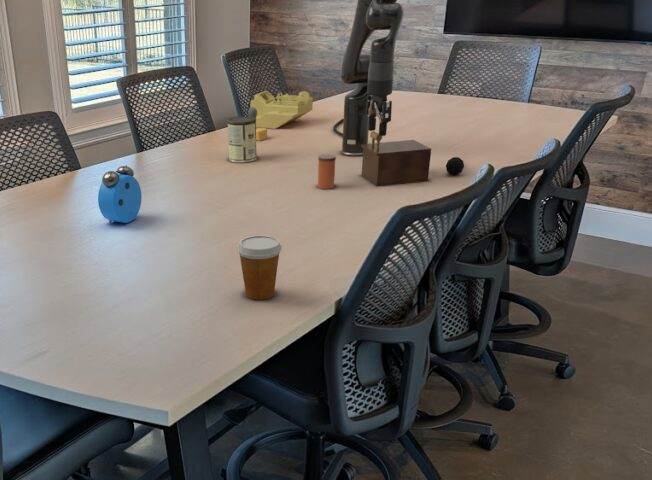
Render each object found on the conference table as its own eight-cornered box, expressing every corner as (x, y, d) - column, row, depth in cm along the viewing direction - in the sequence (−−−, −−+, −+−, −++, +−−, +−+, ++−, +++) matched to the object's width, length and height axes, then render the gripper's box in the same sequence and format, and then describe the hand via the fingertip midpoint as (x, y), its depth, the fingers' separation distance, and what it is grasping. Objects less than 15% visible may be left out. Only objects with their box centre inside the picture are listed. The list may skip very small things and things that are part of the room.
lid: (376, 156, 223) (377, 137, 220) (360, 146, 234) (361, 129, 231) (431, 151, 226) (433, 133, 223) (413, 142, 237) (414, 124, 234)
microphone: (451, 170, 251) (447, 178, 234) (448, 153, 249) (443, 160, 232) (468, 166, 249) (464, 173, 232) (464, 149, 247) (461, 155, 230)
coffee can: (235, 155, 269) (234, 115, 262) (260, 156, 265) (260, 116, 258) (224, 161, 261) (222, 121, 254) (250, 163, 257) (249, 122, 250)
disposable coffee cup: (253, 282, 165) (252, 232, 159) (289, 290, 160) (289, 239, 154) (230, 297, 159) (228, 245, 152) (266, 306, 154) (266, 253, 148)
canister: (315, 185, 231) (316, 155, 226) (331, 183, 232) (332, 153, 227) (320, 189, 226) (321, 159, 221) (336, 188, 227) (338, 157, 222)
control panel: (244, 92, 304) (265, 80, 317) (242, 129, 314) (262, 116, 328) (296, 104, 296) (315, 91, 309) (291, 142, 306) (310, 128, 320)
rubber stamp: (239, 138, 293) (238, 107, 287) (247, 135, 297) (246, 104, 291) (259, 140, 288) (258, 109, 281) (267, 138, 292) (267, 106, 285)
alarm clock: (127, 213, 213) (122, 162, 205) (144, 215, 210) (139, 164, 203) (100, 226, 203) (93, 173, 196) (118, 229, 201) (111, 175, 193)
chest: (376, 186, 228) (378, 156, 223) (361, 175, 239) (363, 146, 234) (427, 181, 230) (431, 151, 226) (410, 170, 241) (413, 142, 237)
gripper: (402, 79, 212) (397, 136, 220) (382, 73, 224) (379, 127, 232) (378, 81, 211) (374, 138, 219) (360, 75, 223) (357, 129, 231)
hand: (376, 133), depth 226 cm, fingers open, 8 cm apart
